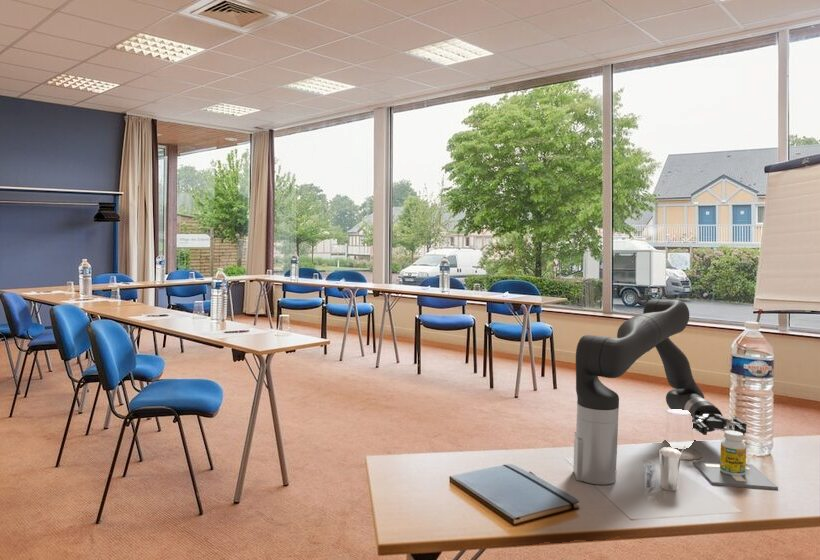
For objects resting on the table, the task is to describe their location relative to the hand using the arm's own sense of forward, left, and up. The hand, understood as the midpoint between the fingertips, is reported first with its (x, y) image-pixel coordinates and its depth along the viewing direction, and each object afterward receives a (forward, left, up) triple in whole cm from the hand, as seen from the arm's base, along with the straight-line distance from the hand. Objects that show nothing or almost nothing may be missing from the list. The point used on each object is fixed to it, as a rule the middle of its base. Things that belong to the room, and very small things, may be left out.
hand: (723, 432), depth 149 cm
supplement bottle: (0, -7, -8) cm, 11 cm away
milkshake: (-17, -19, -8) cm, 27 cm away
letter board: (0, -8, -8) cm, 11 cm away
